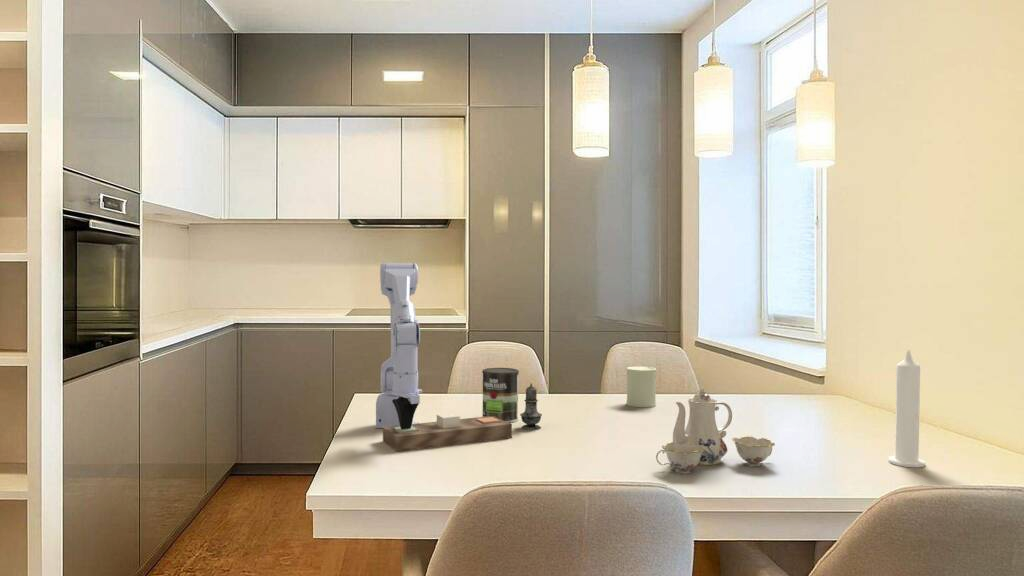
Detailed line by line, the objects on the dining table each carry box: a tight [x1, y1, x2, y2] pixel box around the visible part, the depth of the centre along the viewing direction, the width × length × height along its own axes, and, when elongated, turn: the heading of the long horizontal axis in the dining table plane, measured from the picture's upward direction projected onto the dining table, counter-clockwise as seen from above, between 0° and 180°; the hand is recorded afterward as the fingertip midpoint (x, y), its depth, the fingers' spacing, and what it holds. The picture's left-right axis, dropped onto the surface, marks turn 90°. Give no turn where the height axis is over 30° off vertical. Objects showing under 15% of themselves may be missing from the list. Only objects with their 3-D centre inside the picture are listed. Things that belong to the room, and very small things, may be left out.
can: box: [625, 365, 657, 409], centre depth 218 cm, size 9×9×12 cm
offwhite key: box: [436, 412, 461, 429], centre depth 173 cm, size 4×4×3 cm
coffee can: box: [481, 367, 520, 424], centre depth 196 cm, size 10×10×14 cm
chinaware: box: [655, 387, 776, 475], centre depth 152 cm, size 28×17×17 cm, turn 113°
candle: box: [887, 349, 926, 469], centre depth 152 cm, size 7×7×25 cm
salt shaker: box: [520, 383, 543, 431], centre depth 186 cm, size 6×6×12 cm
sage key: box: [394, 426, 417, 433], centre depth 168 cm, size 4×4×3 cm
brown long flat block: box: [382, 416, 513, 453], centre depth 173 cm, size 30×11×4 cm, turn 117°
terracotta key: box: [477, 417, 500, 424], centre depth 178 cm, size 4×4×3 cm
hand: (405, 428), depth 167 cm, fingers closed, pressing on sage key
